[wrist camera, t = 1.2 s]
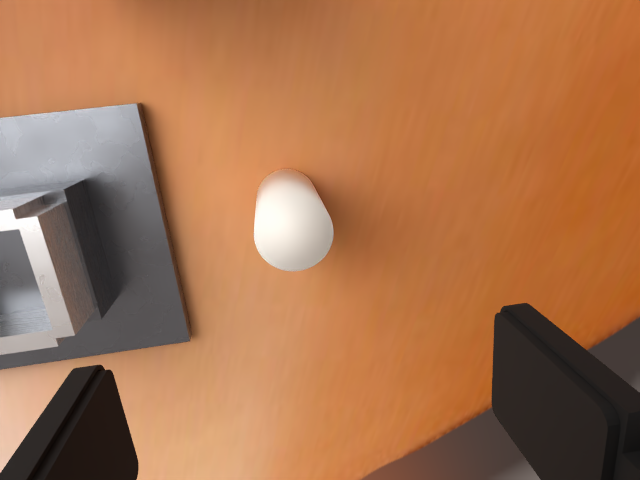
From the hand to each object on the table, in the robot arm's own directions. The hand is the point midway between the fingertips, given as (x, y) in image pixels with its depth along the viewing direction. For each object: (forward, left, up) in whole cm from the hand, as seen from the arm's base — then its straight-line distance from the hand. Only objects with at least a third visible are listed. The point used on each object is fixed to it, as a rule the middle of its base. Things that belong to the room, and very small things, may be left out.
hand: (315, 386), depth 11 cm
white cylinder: (0, 0, -20) cm, 20 cm away
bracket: (+16, +1, -20) cm, 26 cm away
